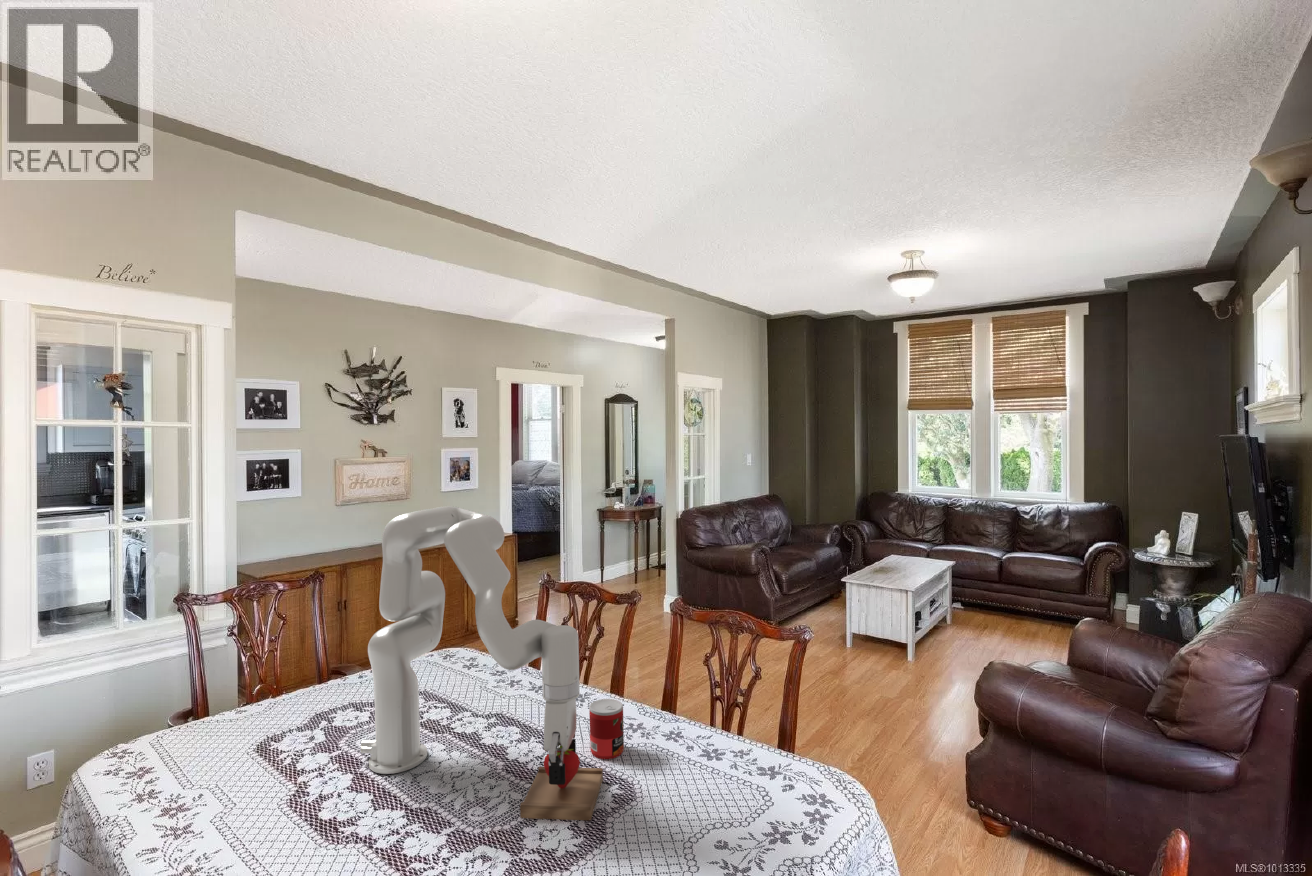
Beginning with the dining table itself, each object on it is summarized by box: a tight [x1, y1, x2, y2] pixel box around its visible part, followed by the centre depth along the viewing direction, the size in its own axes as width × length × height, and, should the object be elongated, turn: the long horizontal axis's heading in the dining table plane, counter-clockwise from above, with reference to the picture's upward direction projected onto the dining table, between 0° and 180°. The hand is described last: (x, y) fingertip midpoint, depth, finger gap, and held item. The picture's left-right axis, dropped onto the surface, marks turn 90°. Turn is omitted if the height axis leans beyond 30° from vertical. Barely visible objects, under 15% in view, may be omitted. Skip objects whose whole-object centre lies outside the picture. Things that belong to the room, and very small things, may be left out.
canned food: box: [588, 698, 625, 760], centre depth 149 cm, size 8×8×11 cm
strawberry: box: [543, 746, 581, 789], centre depth 131 cm, size 6×8×10 cm
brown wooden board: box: [519, 766, 604, 821], centre depth 131 cm, size 14×14×3 cm
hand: (563, 770), depth 131 cm, fingers open, 9 cm apart
